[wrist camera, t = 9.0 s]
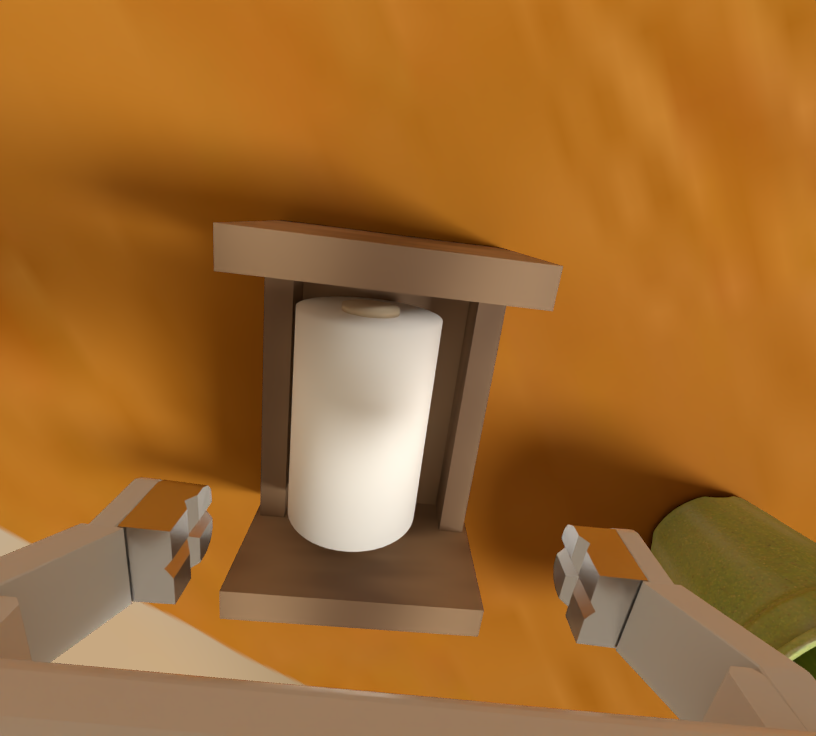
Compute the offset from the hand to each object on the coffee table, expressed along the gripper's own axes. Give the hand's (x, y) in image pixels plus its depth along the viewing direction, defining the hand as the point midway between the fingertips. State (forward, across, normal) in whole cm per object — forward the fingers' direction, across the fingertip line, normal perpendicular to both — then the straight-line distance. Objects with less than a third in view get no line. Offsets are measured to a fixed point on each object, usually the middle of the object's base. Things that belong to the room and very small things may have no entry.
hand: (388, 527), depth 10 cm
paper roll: (+9, +1, +1) cm, 9 cm away
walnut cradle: (+10, +1, +1) cm, 10 cm away
